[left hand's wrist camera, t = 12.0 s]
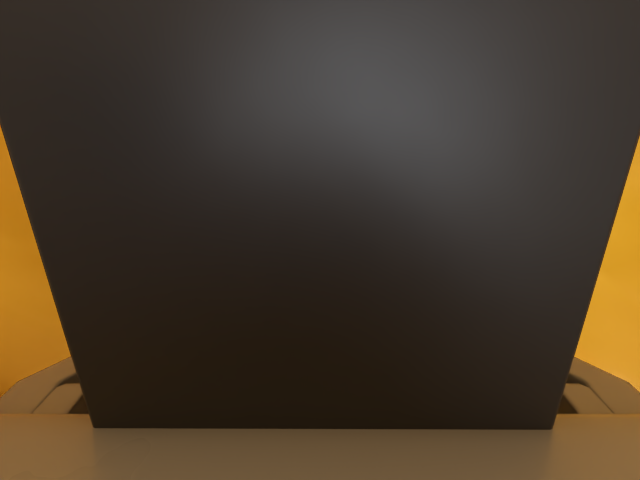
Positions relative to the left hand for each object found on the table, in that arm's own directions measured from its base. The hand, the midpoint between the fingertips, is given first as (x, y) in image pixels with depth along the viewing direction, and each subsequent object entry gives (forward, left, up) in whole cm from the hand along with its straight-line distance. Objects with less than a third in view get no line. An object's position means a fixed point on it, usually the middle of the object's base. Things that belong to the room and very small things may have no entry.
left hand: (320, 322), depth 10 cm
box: (0, +11, -6) cm, 12 cm away
